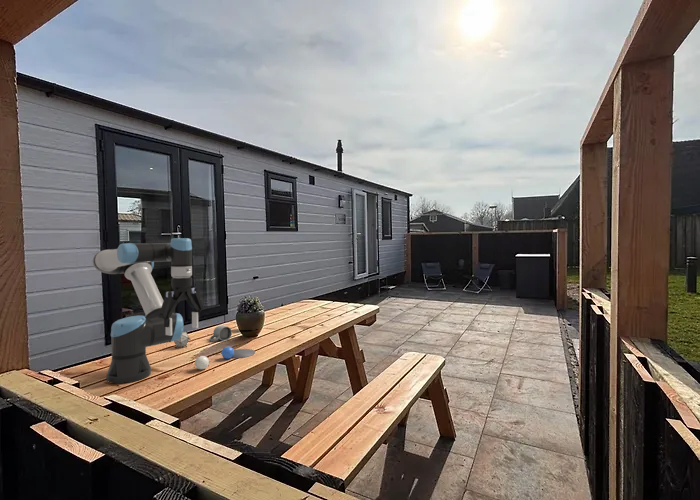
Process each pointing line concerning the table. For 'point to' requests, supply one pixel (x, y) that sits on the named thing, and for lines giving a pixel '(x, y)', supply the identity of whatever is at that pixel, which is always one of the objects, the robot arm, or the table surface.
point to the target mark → (243, 353)
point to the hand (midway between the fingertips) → (182, 331)
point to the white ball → (201, 362)
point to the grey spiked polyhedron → (182, 340)
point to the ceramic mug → (221, 333)
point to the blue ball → (227, 352)
